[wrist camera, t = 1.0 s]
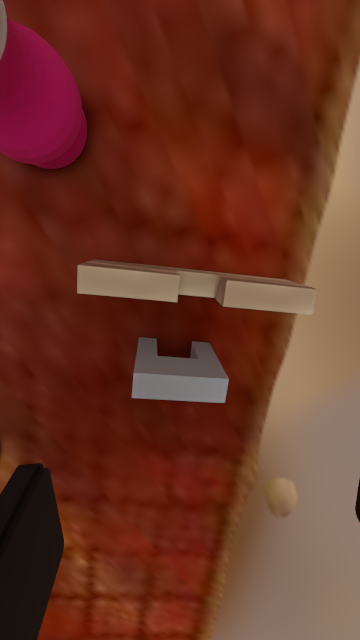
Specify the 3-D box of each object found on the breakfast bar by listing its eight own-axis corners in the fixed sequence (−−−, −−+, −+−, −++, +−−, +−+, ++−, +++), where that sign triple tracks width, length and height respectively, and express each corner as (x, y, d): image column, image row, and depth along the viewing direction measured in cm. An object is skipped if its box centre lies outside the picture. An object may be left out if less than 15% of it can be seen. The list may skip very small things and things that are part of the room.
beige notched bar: (281, 299, 29) (312, 314, 23) (93, 281, 27) (77, 293, 21) (285, 279, 29) (318, 289, 23) (94, 259, 27) (77, 265, 21)
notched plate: (206, 361, 30) (224, 403, 22) (137, 356, 29) (131, 397, 22) (209, 342, 30) (228, 378, 22) (138, 337, 29) (133, 372, 21)
